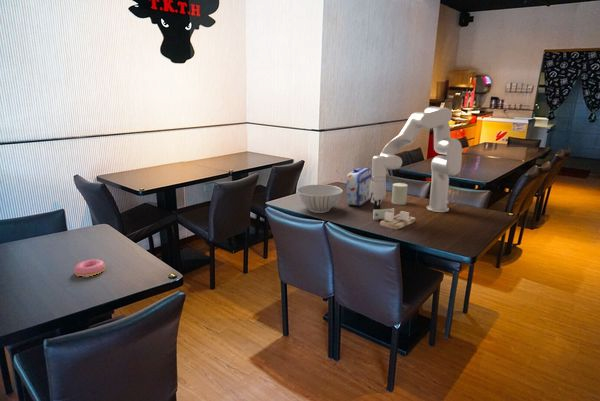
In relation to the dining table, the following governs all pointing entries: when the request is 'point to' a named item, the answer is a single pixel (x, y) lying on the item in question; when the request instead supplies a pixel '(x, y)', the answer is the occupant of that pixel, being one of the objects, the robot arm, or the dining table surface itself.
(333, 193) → the decorative bowl
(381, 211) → the rack door
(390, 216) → the fader
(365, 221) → the dining table surface
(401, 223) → the console board
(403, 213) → the fader
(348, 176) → the lunch box
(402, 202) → the can
